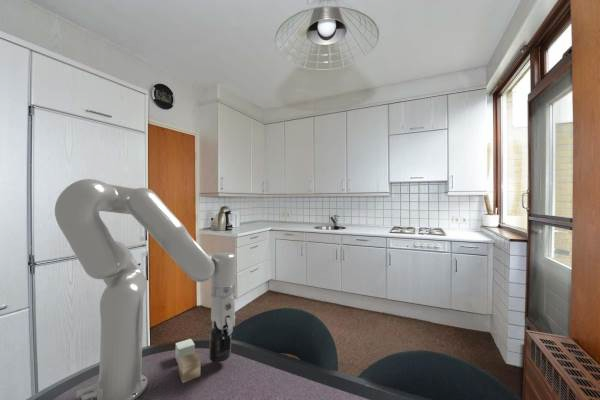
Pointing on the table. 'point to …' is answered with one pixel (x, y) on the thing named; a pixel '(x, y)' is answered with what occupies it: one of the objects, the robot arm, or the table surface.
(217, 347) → the supplement bottle
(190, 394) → the table surface
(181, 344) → the sage block
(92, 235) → the robot arm
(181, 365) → the beech block
